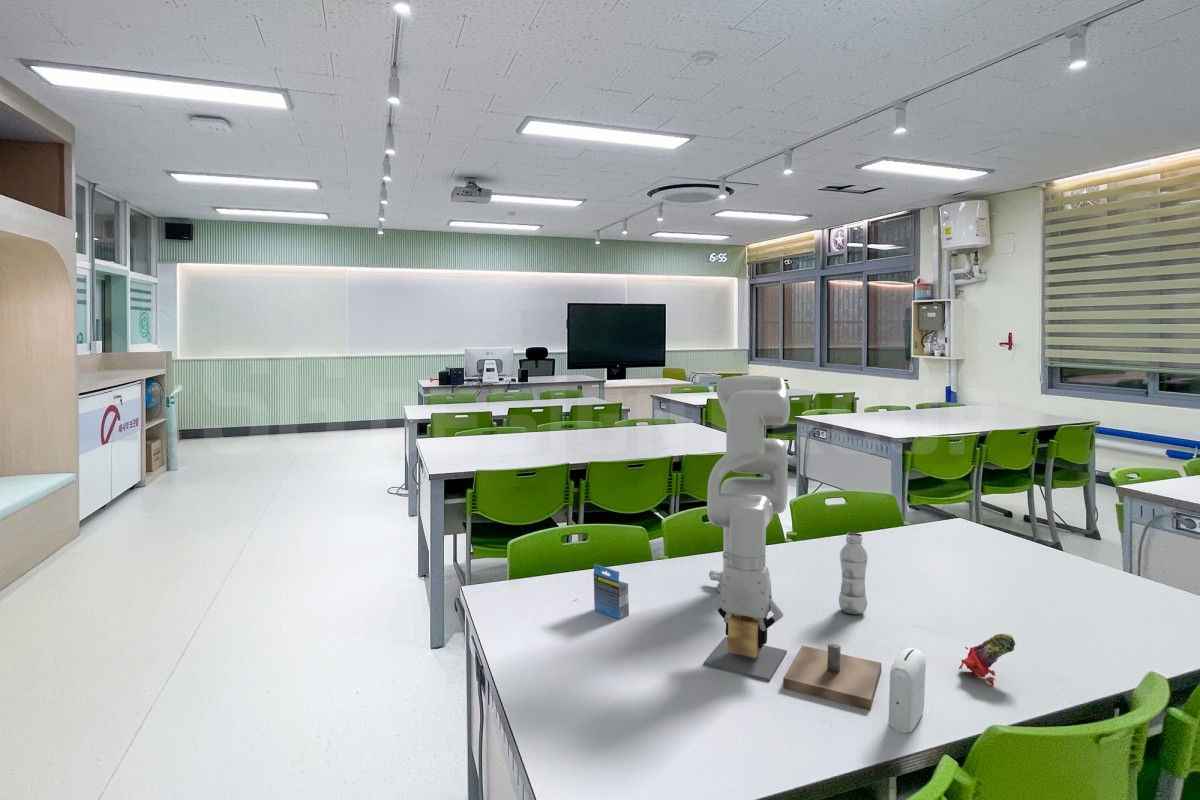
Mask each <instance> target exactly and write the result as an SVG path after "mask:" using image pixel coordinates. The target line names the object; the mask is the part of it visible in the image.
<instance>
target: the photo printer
mask: <svg viewBox="0 0 1200 800" xmlns="http://www.w3.org/2000/svg"><path fill="white" fill-rule="evenodd" d="M926 663H927V661H926V658H925V655H924V653H923V652H922V651H921V650H920V649H916V648H913V647H908V648H906V649H903V650H902V651H901V652H900V653H899V654H898V655H897V657H896V658H895V659H894V661H893V663H892V665H891V669H890V672H889V692H888V693H889V696H888V698H889V699H888V719H887V720H888V722H887V723H888V726H890V727H891V729H892V730H893V731H896V732H899V733H902V734H908V733H911V732H912V731H913V730H914V729H915V728H916V725H918V723H919V721H920V719H921V717H922V715H923V713H924V711H925V692H926V689H925V688H926V668H927V666H926V665H927V664H926Z"/></svg>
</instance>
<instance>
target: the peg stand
mask: <svg viewBox="0 0 1200 800" xmlns="http://www.w3.org/2000/svg"><path fill="white" fill-rule="evenodd" d="M841 651H842V650H841V645H839V644H837V643H829V644H827V650H825V649H820V648H816V647H812V646H811V647H810V646H808V645H807V646H806V645H801V647H800V648H799V650H798V652H797V653H796V655H795V657H794V658H793V660H792V661H791V664H790V666H789V668H788V669H787V671H786V673H785V674H784V676H783V687H782V688H783V689H785V690H786V689H787V690H791V691H794V692H798V693H803V694H805V695H810V696H814V697H817V698H818V697H819V698H820V699H825V700H829V701H834V702H837V703H838V702H839V703H842V704H845V705H849V706H854V707H857V706H858V707H857V708H861V707H862V708H861V709H864V708H865V710H869V711H871V710H872V706H873V703H874V700H875V696H876V693H875V692H877V688H878V685H879V681H880V678H881V676H882V662H879V661H876V660H869V659H866V658H863V657H862V658H861V657H858V656H857V657H856V656H851V655H848V654H843V653H841ZM873 699H874V700H873Z"/></svg>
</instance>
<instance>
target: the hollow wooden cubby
mask: <svg viewBox="0 0 1200 800" xmlns="http://www.w3.org/2000/svg"><path fill="white" fill-rule="evenodd" d="M759 629H760V626H759V623H758V620H757V619H756V618H751V617H746V616H741V615H736V614H733V615H732V616H731V617H730V618H729V620H728V635H727V637H728V652H732V653H736V654H740V655H745V656H749V657H753V658H756V657H757V655H758V654H759V653H760V651H761V650H762V648H763V647H764V645H765V644H764V645H763V647H762V648H761V649H760V648H758V630H759Z"/></svg>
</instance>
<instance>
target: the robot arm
mask: <svg viewBox="0 0 1200 800" xmlns="http://www.w3.org/2000/svg"><path fill="white" fill-rule="evenodd" d="M716 384H717V385H716V396H717V399H718V402H719V405H720V408H721V410H722V412H723V415H724V419H725V422H726V433H725V434H726V435H725V436H726V441H725V442H726V443H725V447H726V449H725V451H726V452H725V453H724V454H723V456H721V458H720V459H718V460H717V462H716V463H715V465H714V466H713V468H712V469H711V471H710V474H709V477H708V481H707V498H706V499H707V500H706V501H707V502H706V511H707V513H706V514H707V519H708V520H709V521H708V522H710V523H711V525H713V526H716V527H719V528H723V542H722V543H723V546H722V547H723V548H722V549H723V552H722V560H723V561H722V562H723V564H722V567H723V568H722V570H723V571H717V570H709V572H708V576H709V578H710V581H717V582H718V583H717V588H716V590H717V592H718V593H719V594H718V595H717V596H716V597H715V598H714V599H713V600H712V601H711V604H712V606H713V607H714V608H715V610H716V611H717V612H718V614H719V615H720V616H721V618H722V619H723V622H724V623H725V635H726V636H728V620H729V618H730V617H731V616H732V615H733V614H736V615H741V616H746V617H751V618H756V619H757V620H758V623H759V626H760V629H759V630H758V648H760V649H761V648H762V647H763V645H766V644H767V643H768V629H769V628H770V627H771V626H773V625H774V624H775V623H776V622H778V621H780V620H781V619H782V618H783V616H784V613H783V612H782V610H781V609H780V608H779V607H778V606H777V604H776V603H775V601H773V595H772V594H773V593H772V582H771V577H770V576H771V575H770V571H769V568H768V567H767V566H766V552H767V551H766V545H767V544H766V543H767V542H766V540H767V527H768V526H769V524H770V523H771V522H772V520H773V515H777V514H781V513H784V512H785V510H786V508H787V504H788V482H789V481H788V477H789V476H788V475H789V473H788V468H789V465H788V464H789V461H788V457H789V456H788V455H789V454H788V450H787V449H788V448H787V446H786V444H785V442H784V441H783V440H781V439H779V438H770V437H769V438H768V437H767V438H766V437H765V426H784V425H786V424H787V423H788V421H789V419H790V415H791V403H790V396H789V392H788V389H787V384H786V381H785V380H784V379H783V378H782V377H780V376H763V375H762V376H761V375H760V376H751V375H750V376H749V375H737V376H736V375H735V376H727V377H723V378H720V379H719V380H718V382H717V383H716ZM731 472H733V473H737V474H738V473H740V474H758V475H759V474H761V475H763V474H765V475H768V476H769V477H754V476H750V477H749V476H735V477H734V476H733V477H729V478H726V479H724V477H725V476H726V475H727V474H729V473H731ZM723 479H724V481H723V482H722V480H723ZM770 612H771V613H772V616H770V617H768V615H769V613H770Z"/></svg>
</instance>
